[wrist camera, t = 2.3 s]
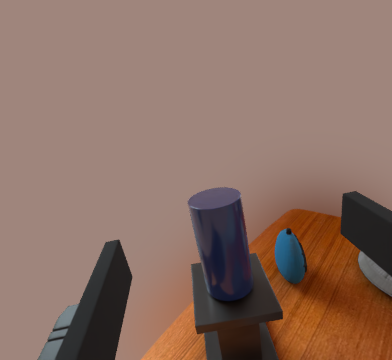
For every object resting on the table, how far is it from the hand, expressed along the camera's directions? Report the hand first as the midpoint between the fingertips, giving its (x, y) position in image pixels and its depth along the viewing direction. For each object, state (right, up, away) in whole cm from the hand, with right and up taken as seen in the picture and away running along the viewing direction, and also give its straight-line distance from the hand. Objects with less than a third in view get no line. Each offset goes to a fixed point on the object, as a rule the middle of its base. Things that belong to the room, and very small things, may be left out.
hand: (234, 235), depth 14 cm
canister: (+2, -9, +14) cm, 17 cm away
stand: (+4, -20, +19) cm, 28 cm away
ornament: (+15, -14, +29) cm, 36 cm away
